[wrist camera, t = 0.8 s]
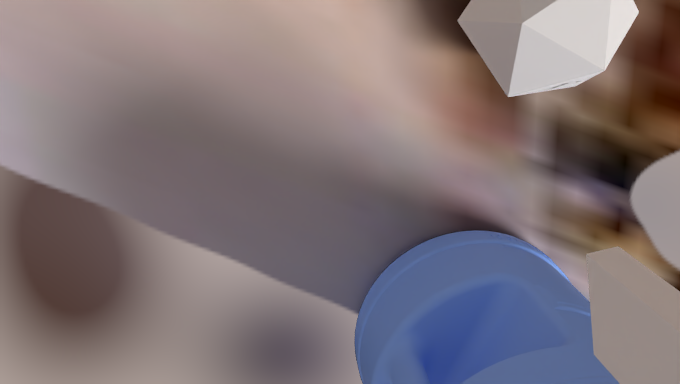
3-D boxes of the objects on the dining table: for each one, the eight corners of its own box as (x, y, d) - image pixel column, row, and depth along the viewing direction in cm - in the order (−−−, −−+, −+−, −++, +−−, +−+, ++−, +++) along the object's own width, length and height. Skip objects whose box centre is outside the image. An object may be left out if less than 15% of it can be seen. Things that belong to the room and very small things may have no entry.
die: (418, 38, 37) (507, 145, 32) (467, -105, 31) (587, -3, 25) (521, 28, 40) (616, 123, 35) (583, -103, 34) (711, -12, 29)
